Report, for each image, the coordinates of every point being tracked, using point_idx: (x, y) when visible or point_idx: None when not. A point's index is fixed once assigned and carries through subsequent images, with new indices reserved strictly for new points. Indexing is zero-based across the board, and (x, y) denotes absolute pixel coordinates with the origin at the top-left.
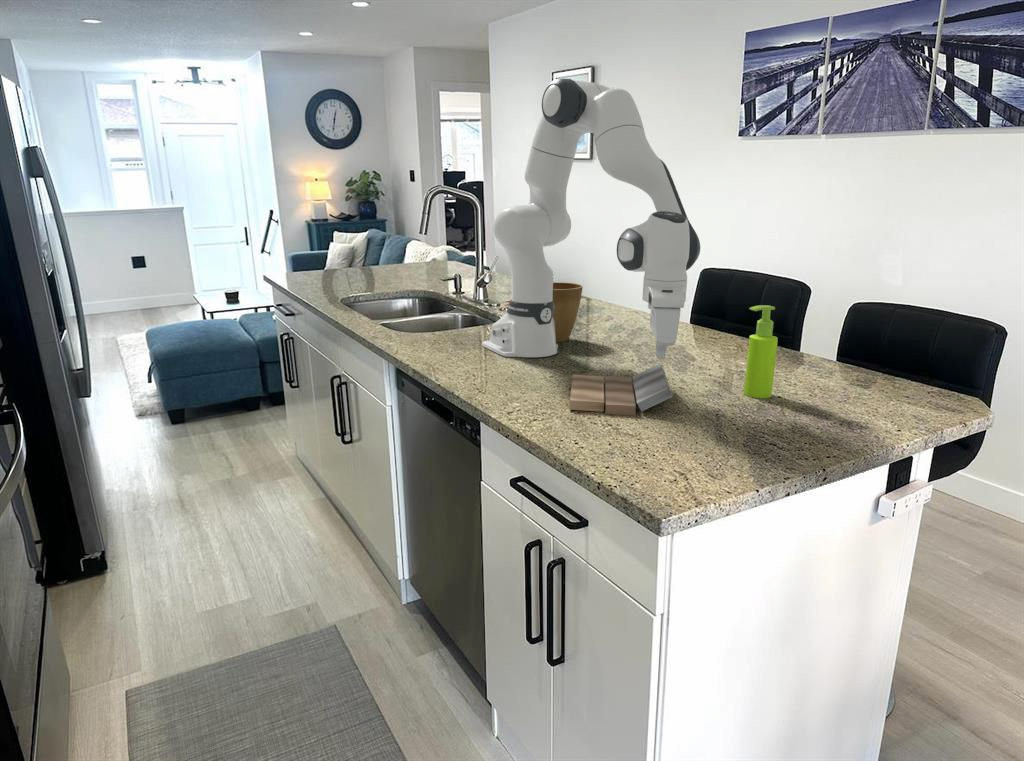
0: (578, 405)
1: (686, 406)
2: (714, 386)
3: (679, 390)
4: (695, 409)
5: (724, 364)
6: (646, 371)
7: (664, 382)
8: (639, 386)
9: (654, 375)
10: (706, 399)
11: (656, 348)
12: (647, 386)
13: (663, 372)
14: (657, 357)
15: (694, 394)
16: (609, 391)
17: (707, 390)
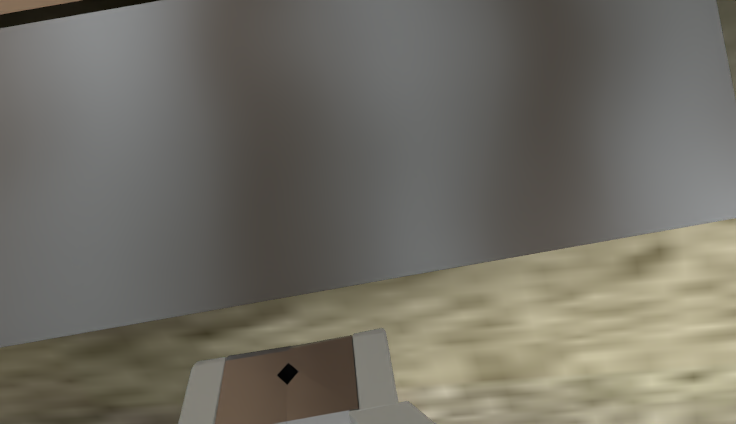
0: None
1: (243, 321)
2: (696, 410)
3: (587, 256)
4: None
5: None
6: (680, 66)
7: (77, 313)
8: (282, 33)
9: (430, 178)
10: (426, 397)
11: (331, 417)
12: (174, 129)
13: (415, 273)
14: (199, 372)
15: (513, 338)
16: None
17: (610, 388)
